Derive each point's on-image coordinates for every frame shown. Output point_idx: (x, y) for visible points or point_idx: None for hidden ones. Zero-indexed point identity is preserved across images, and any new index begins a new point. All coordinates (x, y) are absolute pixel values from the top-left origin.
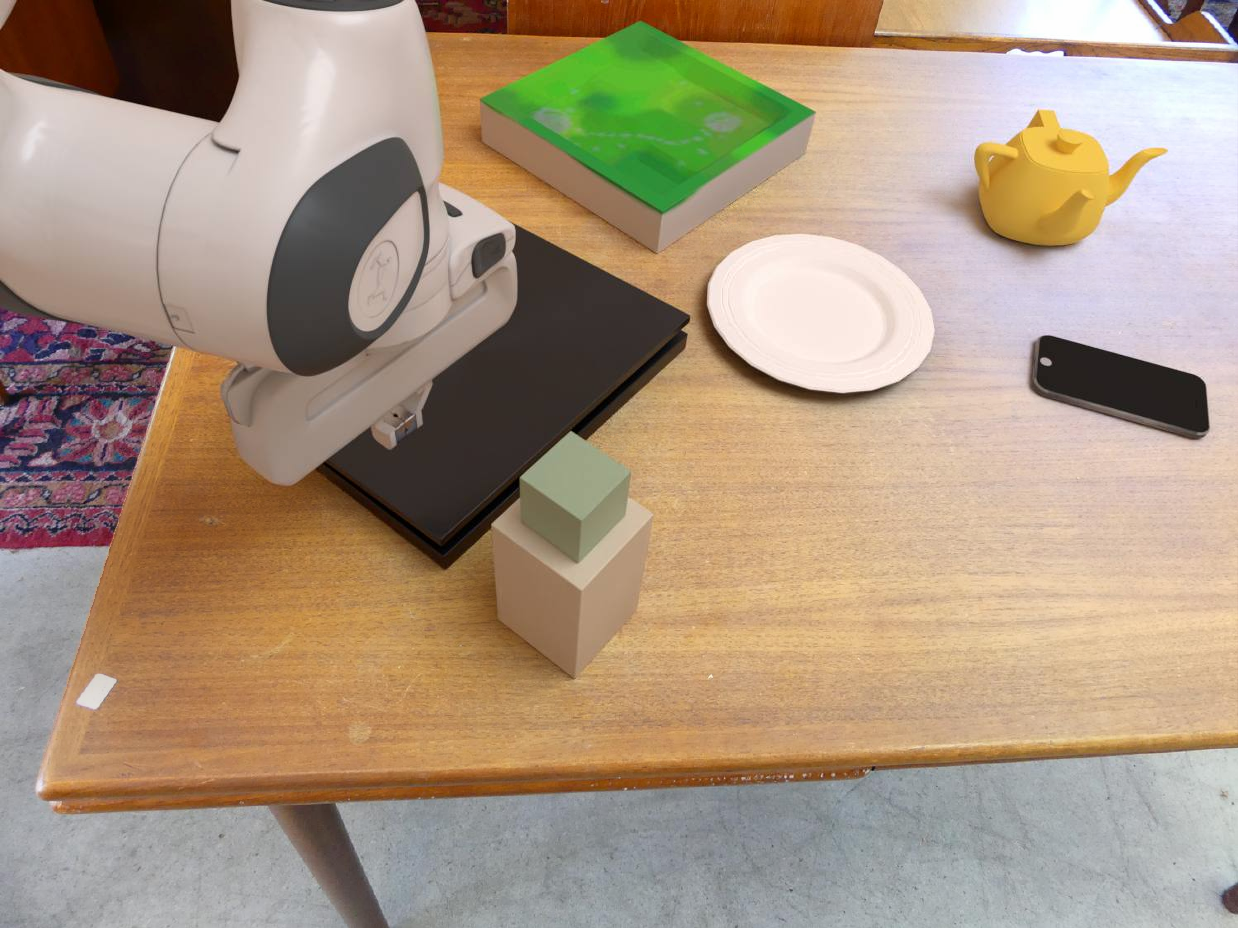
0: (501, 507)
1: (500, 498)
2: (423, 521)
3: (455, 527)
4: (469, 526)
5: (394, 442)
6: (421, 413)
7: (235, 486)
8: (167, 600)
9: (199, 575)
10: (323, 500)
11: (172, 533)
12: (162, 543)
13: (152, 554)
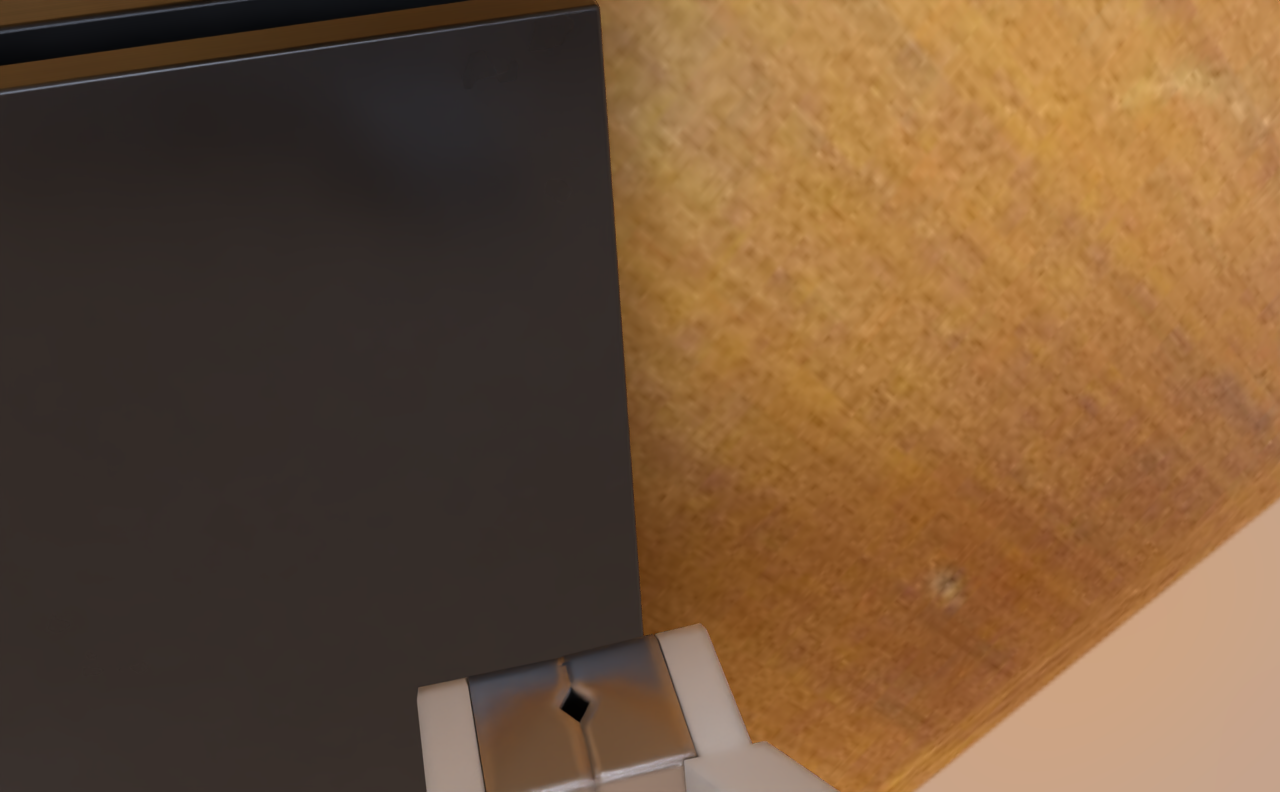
0: (93, 6)
1: (70, 52)
2: (581, 165)
3: (475, 19)
4: (334, 18)
5: (683, 662)
6: (431, 789)
7: (821, 651)
8: (1200, 428)
9: (1098, 452)
10: (673, 491)
11: (1034, 598)
12: (1071, 584)
13: (1110, 567)
